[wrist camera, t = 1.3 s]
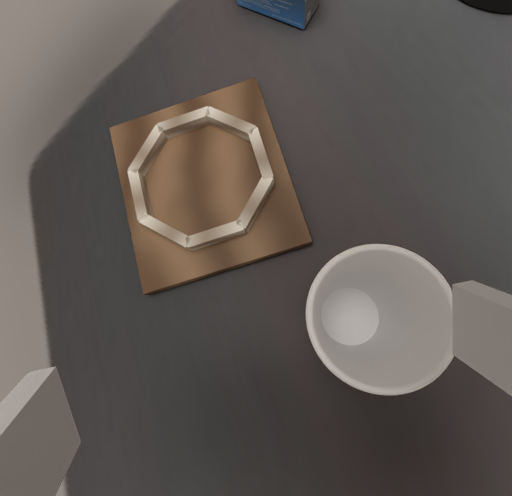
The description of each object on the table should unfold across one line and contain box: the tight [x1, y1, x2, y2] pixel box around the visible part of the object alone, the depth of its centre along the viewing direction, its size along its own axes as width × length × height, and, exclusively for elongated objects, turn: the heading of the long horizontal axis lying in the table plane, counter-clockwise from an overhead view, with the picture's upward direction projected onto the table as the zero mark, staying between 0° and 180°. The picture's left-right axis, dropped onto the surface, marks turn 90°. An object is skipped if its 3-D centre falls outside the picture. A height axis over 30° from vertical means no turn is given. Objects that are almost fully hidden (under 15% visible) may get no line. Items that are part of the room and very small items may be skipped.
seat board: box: [110, 77, 312, 295], centre depth 31 cm, size 16×18×3 cm
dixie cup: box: [306, 244, 454, 395], centre depth 22 cm, size 8×8×11 cm
